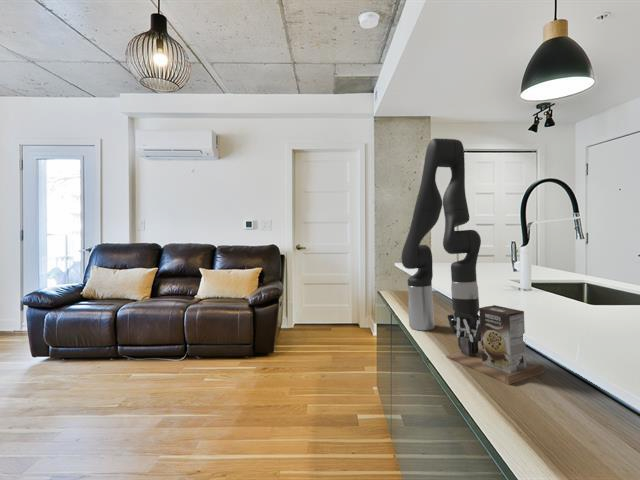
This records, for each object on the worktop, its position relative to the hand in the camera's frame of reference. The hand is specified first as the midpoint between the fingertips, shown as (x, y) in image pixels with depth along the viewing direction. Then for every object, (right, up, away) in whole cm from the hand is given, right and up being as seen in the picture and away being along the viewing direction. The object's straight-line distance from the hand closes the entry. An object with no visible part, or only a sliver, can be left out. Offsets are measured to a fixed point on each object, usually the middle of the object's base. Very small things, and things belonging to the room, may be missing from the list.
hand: (468, 350), depth 100 cm
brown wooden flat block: (+3, -1, -7) cm, 8 cm away
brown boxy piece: (+5, -1, -11) cm, 12 cm away
